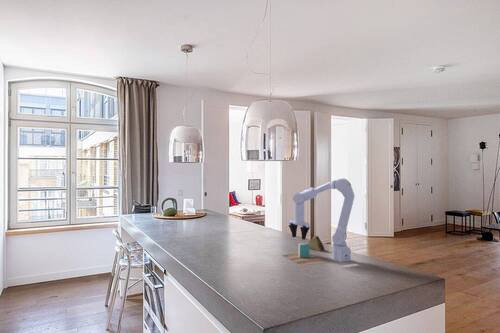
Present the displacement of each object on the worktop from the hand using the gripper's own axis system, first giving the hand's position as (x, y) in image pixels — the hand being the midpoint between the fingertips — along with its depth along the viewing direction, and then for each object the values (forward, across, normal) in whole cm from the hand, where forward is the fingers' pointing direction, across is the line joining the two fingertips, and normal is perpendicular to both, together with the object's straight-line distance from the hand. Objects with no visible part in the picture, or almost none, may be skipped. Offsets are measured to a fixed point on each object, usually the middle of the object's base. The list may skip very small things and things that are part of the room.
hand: (298, 238), depth 187 cm
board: (+10, -9, +5) cm, 14 cm away
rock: (+10, +3, -16) cm, 20 cm away
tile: (+9, -6, +2) cm, 11 cm away
